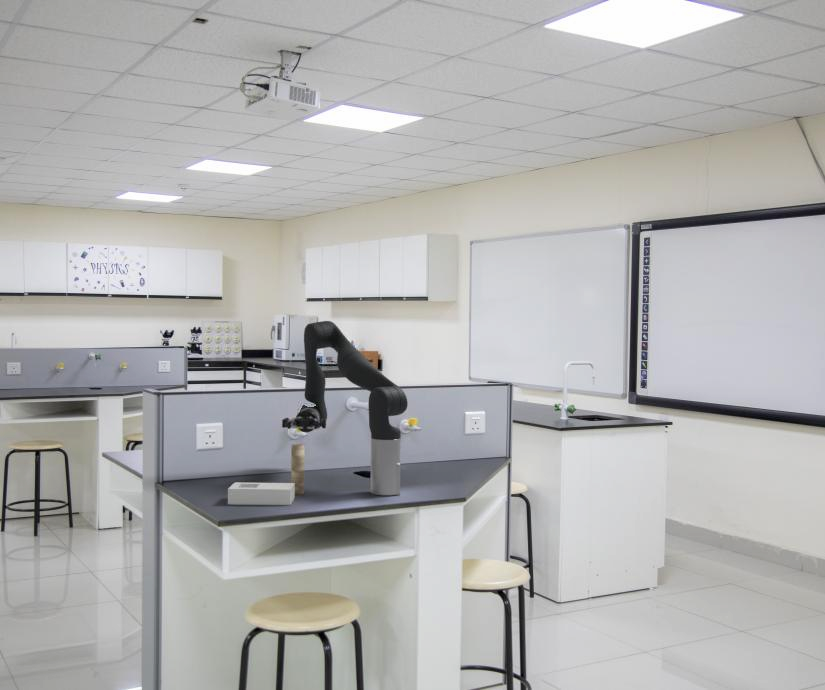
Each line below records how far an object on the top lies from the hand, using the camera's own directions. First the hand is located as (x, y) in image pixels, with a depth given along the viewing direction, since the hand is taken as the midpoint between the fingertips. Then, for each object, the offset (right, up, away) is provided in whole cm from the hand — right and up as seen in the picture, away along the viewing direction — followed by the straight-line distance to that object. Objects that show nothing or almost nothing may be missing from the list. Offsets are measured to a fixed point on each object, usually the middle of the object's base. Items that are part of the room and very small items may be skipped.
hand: (302, 425), depth 271 cm
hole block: (-9, -20, -23) cm, 32 cm away
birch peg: (0, -20, -11) cm, 22 cm away
